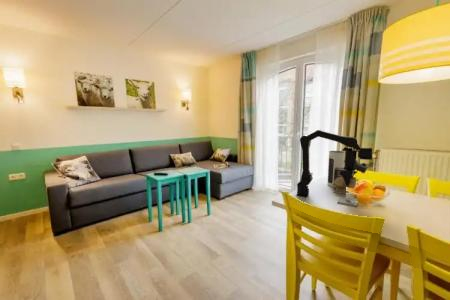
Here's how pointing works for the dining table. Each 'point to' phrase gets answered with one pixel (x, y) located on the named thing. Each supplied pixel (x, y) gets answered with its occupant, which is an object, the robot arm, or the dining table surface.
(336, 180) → the coffee box
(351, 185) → the open wooden cubby
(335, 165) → the speaker
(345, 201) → the grey square slab
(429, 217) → the dining table surface
